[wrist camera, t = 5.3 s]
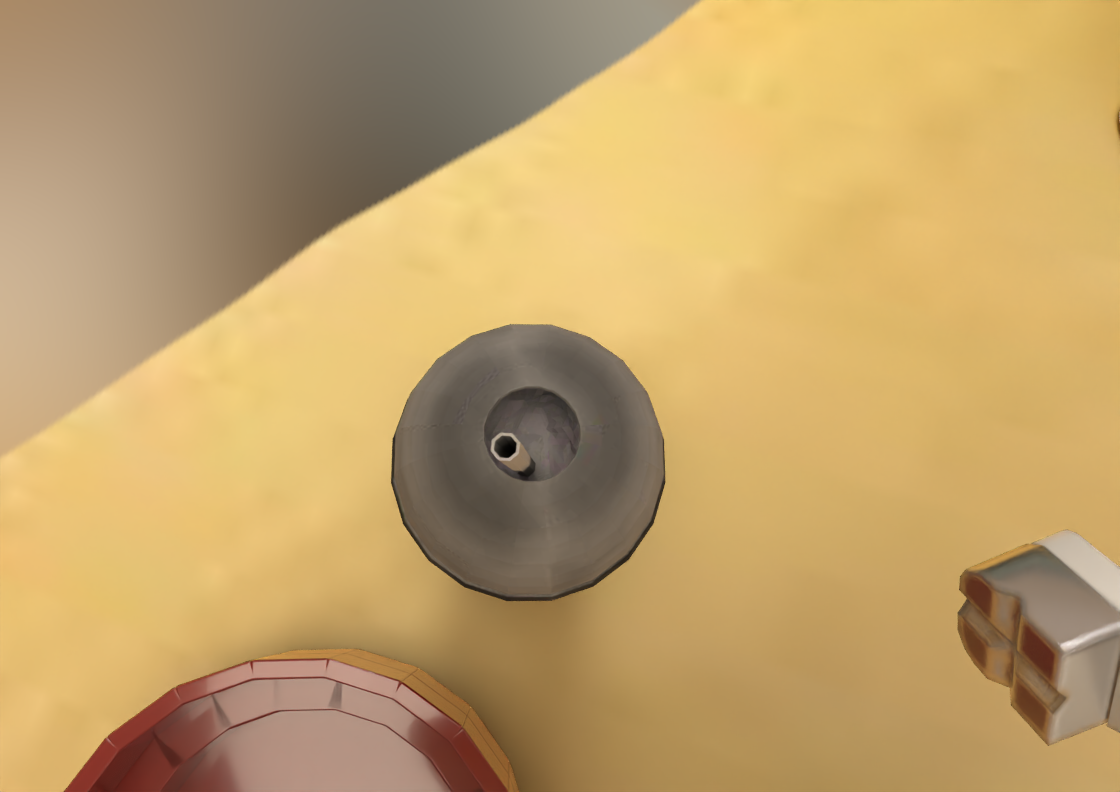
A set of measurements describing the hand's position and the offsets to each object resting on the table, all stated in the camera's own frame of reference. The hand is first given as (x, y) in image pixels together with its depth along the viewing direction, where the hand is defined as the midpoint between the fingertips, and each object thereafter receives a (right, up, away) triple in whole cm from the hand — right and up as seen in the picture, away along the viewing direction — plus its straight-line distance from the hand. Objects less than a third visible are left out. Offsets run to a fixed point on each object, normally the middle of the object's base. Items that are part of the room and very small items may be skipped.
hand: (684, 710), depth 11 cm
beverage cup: (-3, 0, +23) cm, 23 cm away
